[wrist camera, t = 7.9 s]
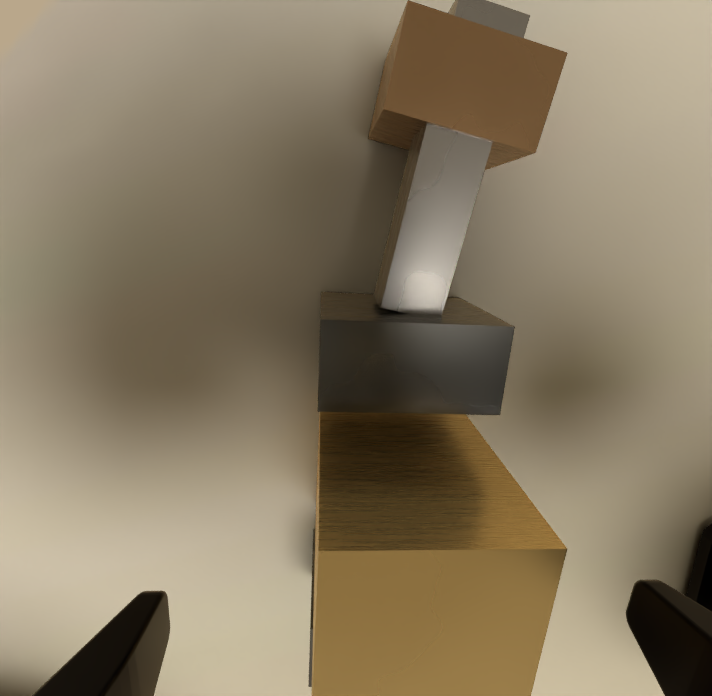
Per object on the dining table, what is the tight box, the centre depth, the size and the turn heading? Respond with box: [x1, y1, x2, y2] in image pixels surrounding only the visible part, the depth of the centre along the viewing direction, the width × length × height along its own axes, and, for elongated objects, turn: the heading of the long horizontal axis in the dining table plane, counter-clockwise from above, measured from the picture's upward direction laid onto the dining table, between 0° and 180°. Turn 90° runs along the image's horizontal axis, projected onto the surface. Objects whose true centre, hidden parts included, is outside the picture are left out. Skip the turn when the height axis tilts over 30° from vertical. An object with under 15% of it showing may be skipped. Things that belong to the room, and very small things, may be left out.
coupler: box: [312, 412, 567, 696], centre depth 10 cm, size 4×4×6 cm
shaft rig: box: [309, 0, 567, 687], centre depth 11 cm, size 22×4×4 cm, turn 177°
